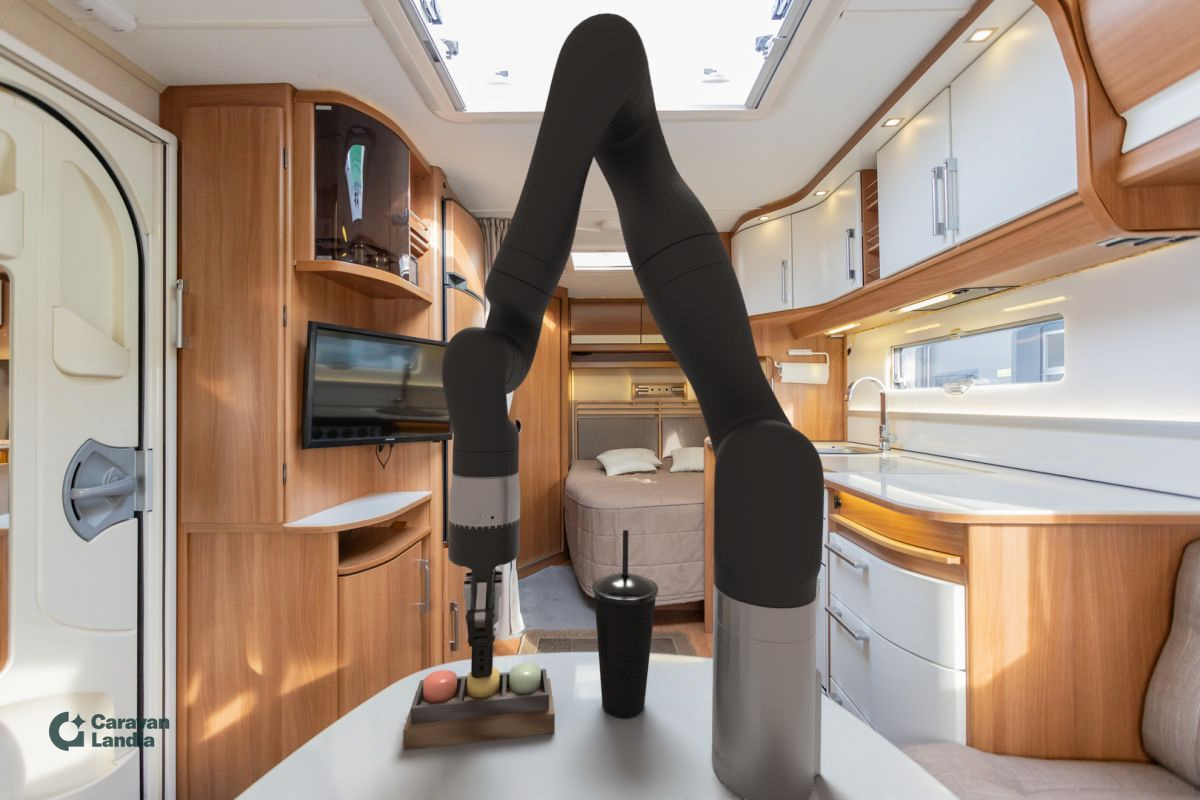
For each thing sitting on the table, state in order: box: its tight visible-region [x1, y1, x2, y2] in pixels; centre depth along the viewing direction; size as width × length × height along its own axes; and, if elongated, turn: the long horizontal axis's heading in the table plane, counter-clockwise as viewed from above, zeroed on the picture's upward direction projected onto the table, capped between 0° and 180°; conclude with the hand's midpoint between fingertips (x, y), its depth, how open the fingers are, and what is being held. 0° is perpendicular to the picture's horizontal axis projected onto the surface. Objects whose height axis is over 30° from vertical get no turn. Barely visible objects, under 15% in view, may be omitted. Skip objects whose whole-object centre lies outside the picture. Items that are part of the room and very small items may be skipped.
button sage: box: [509, 662, 542, 695], centre depth 52 cm, size 3×3×2 cm
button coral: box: [423, 669, 458, 704], centre depth 51 cm, size 3×3×2 cm
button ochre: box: [466, 666, 500, 699], centre depth 52 cm, size 3×3×2 cm
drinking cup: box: [591, 529, 660, 720], centre depth 54 cm, size 8×8×20 cm
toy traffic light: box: [402, 668, 556, 751], centre depth 52 cm, size 15×6×4 cm, turn 101°
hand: (482, 673), depth 52 cm, fingers closed
